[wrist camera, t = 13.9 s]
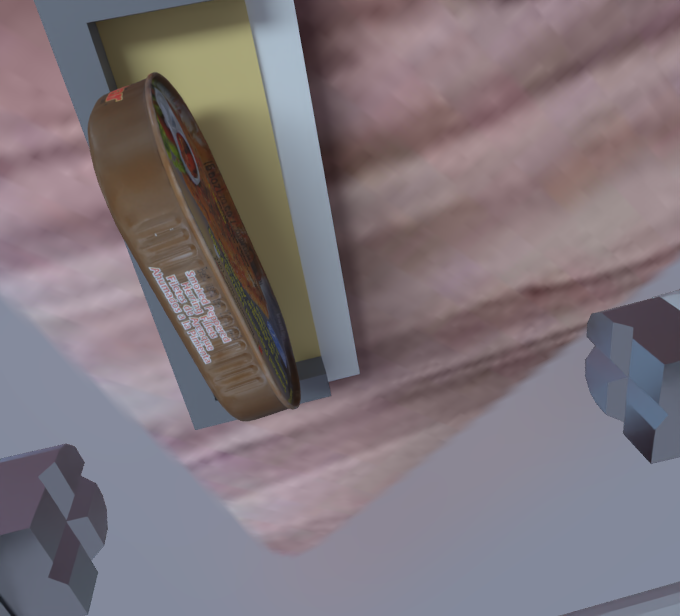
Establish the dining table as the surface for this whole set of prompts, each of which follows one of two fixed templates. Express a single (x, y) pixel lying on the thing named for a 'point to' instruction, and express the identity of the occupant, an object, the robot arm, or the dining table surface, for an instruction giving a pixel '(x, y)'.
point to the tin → (193, 245)
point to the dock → (229, 153)
